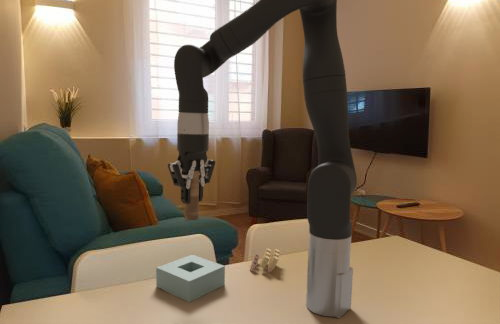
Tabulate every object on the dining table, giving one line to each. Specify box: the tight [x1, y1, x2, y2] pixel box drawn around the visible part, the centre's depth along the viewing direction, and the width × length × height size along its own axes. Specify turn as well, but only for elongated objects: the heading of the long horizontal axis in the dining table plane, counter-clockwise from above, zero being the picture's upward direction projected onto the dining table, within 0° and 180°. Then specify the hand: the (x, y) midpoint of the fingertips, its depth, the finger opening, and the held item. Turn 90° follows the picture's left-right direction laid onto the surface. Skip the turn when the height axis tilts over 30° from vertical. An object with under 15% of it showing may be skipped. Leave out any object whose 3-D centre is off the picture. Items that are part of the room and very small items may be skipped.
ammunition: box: [249, 248, 281, 273], centre depth 108 cm, size 5×7×8 cm
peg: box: [184, 171, 200, 221], centre depth 93 cm, size 3×3×12 cm
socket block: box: [155, 254, 226, 303], centre depth 95 cm, size 12×12×5 cm
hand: (192, 201), depth 93 cm, fingers closed on peg, 3 cm apart
